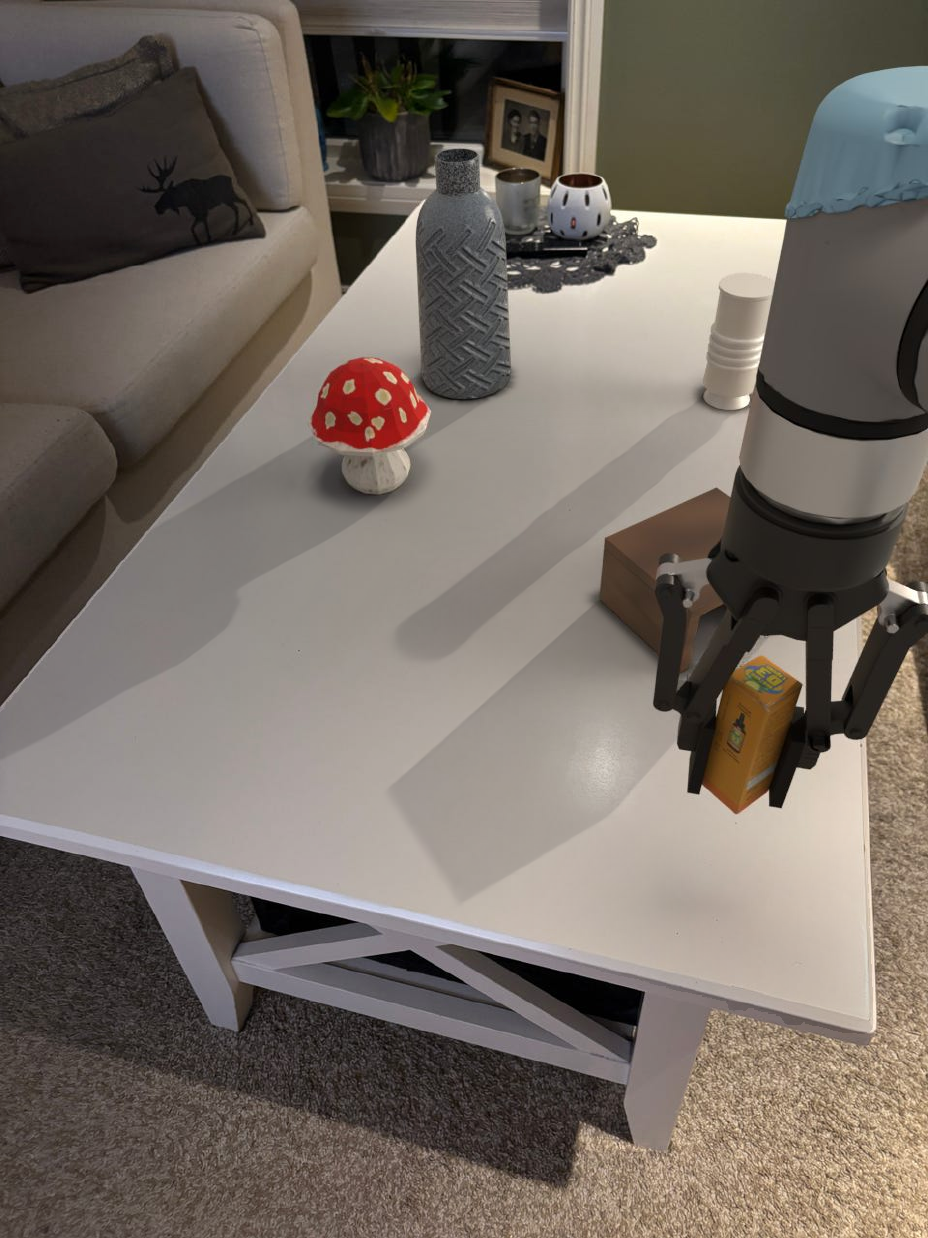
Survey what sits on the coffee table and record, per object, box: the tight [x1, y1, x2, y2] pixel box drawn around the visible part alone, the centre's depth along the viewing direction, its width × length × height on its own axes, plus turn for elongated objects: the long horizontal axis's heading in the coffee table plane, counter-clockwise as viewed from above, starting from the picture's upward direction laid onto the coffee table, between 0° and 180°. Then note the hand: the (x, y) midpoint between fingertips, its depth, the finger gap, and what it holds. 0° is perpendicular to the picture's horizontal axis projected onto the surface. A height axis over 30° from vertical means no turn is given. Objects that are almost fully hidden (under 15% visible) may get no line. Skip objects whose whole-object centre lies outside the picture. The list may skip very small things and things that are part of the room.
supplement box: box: [702, 654, 804, 815], centre depth 52 cm, size 3×3×10 cm
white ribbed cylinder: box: [702, 272, 775, 411], centre depth 108 cm, size 7×7×15 cm
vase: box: [415, 147, 512, 400], centre depth 110 cm, size 12×12×28 cm
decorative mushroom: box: [307, 356, 432, 495], centre depth 99 cm, size 14×14×15 cm
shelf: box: [598, 486, 731, 674], centre depth 84 cm, size 12×14×8 cm
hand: (734, 782), depth 55 cm, fingers closed on supplement box, 4 cm apart
